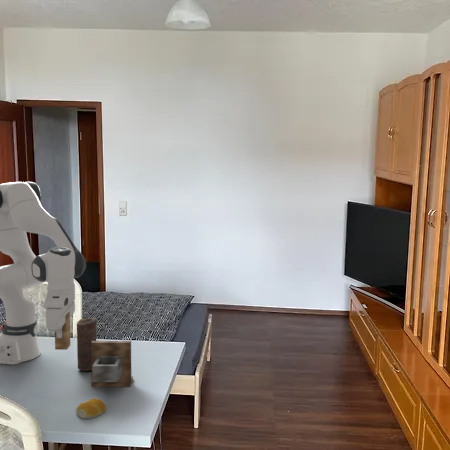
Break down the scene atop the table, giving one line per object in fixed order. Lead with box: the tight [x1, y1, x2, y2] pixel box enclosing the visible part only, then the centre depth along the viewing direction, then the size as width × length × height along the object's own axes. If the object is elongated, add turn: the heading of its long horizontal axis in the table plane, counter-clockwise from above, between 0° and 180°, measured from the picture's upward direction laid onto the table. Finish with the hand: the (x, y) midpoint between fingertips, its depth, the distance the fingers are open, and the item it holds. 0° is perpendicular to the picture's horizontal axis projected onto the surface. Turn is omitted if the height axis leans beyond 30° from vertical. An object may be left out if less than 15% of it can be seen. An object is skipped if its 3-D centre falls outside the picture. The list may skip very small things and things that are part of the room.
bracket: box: [91, 340, 134, 388], centre depth 173 cm, size 14×15×16 cm
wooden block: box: [54, 312, 71, 351], centre depth 166 cm, size 4×4×12 cm
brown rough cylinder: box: [76, 317, 97, 372], centre depth 188 cm, size 8×7×20 cm
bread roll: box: [75, 398, 107, 420], centre depth 158 cm, size 8×9×4 cm
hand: (62, 334), depth 167 cm, fingers closed on wooden block, 4 cm apart
